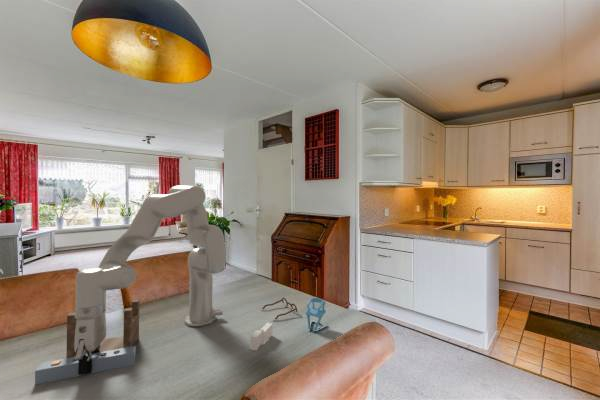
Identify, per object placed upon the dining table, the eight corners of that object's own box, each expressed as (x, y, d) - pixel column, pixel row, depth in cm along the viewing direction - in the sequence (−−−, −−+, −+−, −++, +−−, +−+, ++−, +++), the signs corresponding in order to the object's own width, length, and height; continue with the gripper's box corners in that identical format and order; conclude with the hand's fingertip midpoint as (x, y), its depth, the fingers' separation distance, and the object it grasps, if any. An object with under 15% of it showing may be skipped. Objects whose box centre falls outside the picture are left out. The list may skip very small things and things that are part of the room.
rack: (138, 339, 101) (139, 299, 101) (129, 354, 91) (130, 310, 91) (82, 345, 96) (82, 303, 96) (66, 362, 86) (67, 315, 86)
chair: (302, 330, 111) (303, 301, 111) (311, 321, 118) (312, 294, 118) (320, 334, 107) (320, 305, 107) (327, 326, 115) (328, 298, 114)
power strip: (135, 357, 90) (135, 344, 89) (133, 364, 86) (134, 350, 86) (41, 376, 80) (41, 361, 79) (34, 384, 76) (35, 369, 76)
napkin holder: (271, 332, 109) (271, 318, 109) (284, 345, 100) (285, 330, 100) (235, 342, 101) (235, 327, 101) (246, 357, 92) (247, 341, 92)
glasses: (298, 315, 125) (298, 305, 125) (273, 322, 118) (273, 311, 118) (283, 305, 136) (283, 296, 136) (260, 311, 128) (260, 301, 128)
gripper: (92, 320, 75) (90, 384, 76) (115, 298, 92) (114, 351, 92) (60, 323, 73) (58, 389, 74) (89, 299, 90) (88, 354, 90)
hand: (89, 367), depth 83 cm, fingers closed on power strip, 4 cm apart
